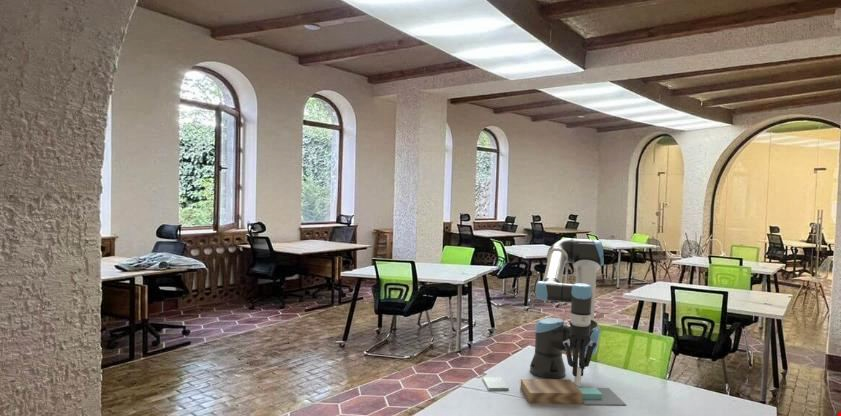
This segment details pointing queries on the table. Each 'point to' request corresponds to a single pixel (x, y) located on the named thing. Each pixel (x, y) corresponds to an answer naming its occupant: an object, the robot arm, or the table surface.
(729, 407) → the table surface
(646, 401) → the table surface
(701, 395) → the table surface
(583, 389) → the teal foam pad
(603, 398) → the mat
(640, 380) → the table surface
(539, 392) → the deck
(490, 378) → the hard drive
